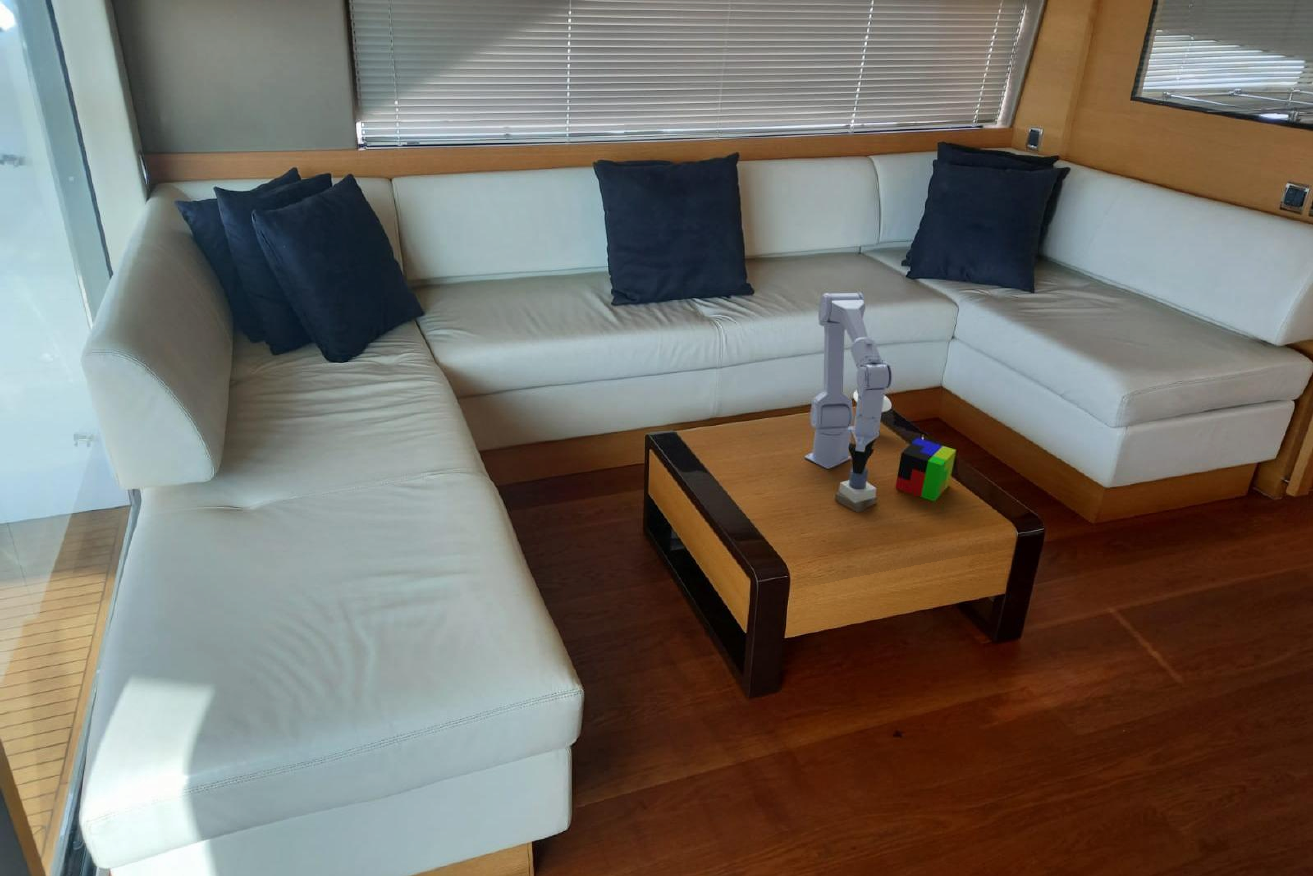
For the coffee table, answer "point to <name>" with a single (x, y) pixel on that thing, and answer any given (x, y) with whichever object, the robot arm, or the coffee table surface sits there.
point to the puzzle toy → (925, 469)
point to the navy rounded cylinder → (858, 479)
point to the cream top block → (857, 492)
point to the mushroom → (886, 402)
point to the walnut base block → (855, 506)
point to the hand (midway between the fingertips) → (860, 465)
